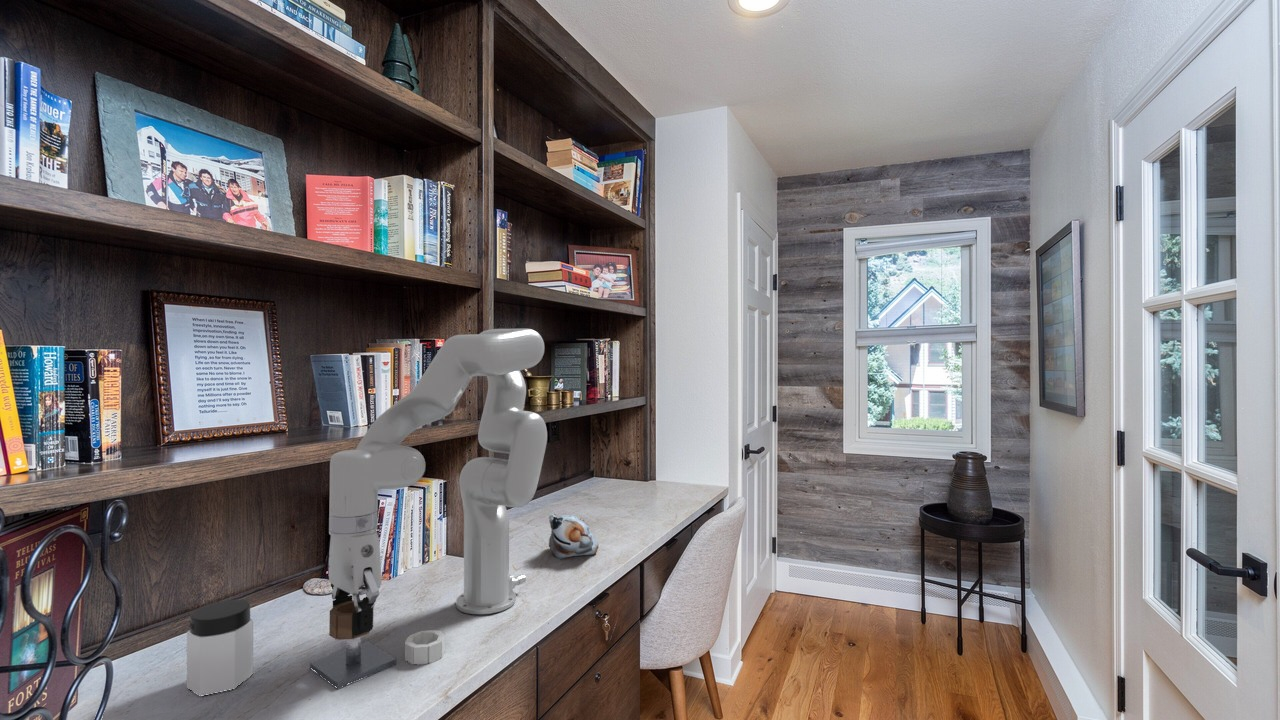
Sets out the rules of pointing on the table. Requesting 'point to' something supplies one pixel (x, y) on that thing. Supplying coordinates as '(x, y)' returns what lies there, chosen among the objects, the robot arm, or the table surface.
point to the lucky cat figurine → (570, 537)
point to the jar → (219, 647)
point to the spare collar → (424, 647)
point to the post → (352, 663)
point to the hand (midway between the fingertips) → (352, 625)
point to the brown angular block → (342, 621)
